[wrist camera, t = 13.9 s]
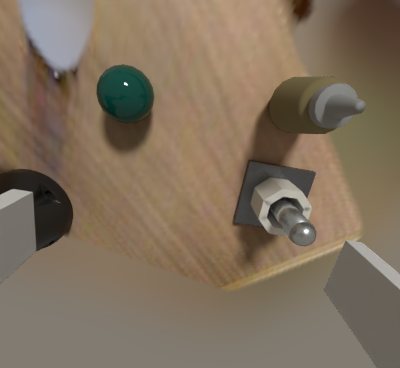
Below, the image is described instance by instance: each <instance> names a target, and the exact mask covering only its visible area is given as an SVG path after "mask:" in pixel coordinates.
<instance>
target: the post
mask: <svg viewBox="0 0 400 368" xmlns="http://www.w3.org/2000/svg"><path fill="white" fill-rule="evenodd" d="M315 175H316V173H315V172H313V171H309V170H303V169H298V168H292V167H286V166H281V165H275V164H269V163H263V162H258V161H252V160H249V161H248V165H247V169H246V173H245V177H244V181H243V185H242V189H241V192H240V196H239V200H238V204H237V208H236V212H235V216H234V222H235V223H241V224H248V225H254V226H261V227H264V226H263V225H262V223H261V222H260V220H259V219H258V217H257V215H256V214H255V212H254V210H253V208H252V206H251V204H250V203H251V199H252V195H253V192H254V188H255V187H256V186H257V185H259V184H261V183H262V182H264V181H265V180H267V179H268V178H270V177H272V178H279V179H285V180H289V181H290V182H291V183H292V184H294V185H295V186H296V187H297V188H298V189H300V190H301V191H302V192H303V193H304V195H305V197H306V198H307V197H308V194H309V191H310V189H311V186H312V183H313V180H314V177H315ZM288 199H289V197H282V198H280V199H279V200H277V201H275V202H274V203H272V204H270V208H269V211H268V212H270V213H272V214H273V215H274V217H275V218H276V219H277V221H278V222H279V224H280V225H281V227H282V228H283V229H284V231H285V232H286V234H287V235H288V237H289V238H290V240H291V241H292V242H293V243H295V244H297V245H299V246H308V245H311V244H312V243H313V242H314V241H315V239H316V230H315V227H314V226H313V225H312V224H311V222H310V221H309V220H308V219H307V218H306V217H305V216H304V215H303V214H302V213H301V212H300V211H299V210H298V209H297V208H296V207H295V206H294V205H293V204H292V203H291V202H290V201H289V200H288Z"/></svg>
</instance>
